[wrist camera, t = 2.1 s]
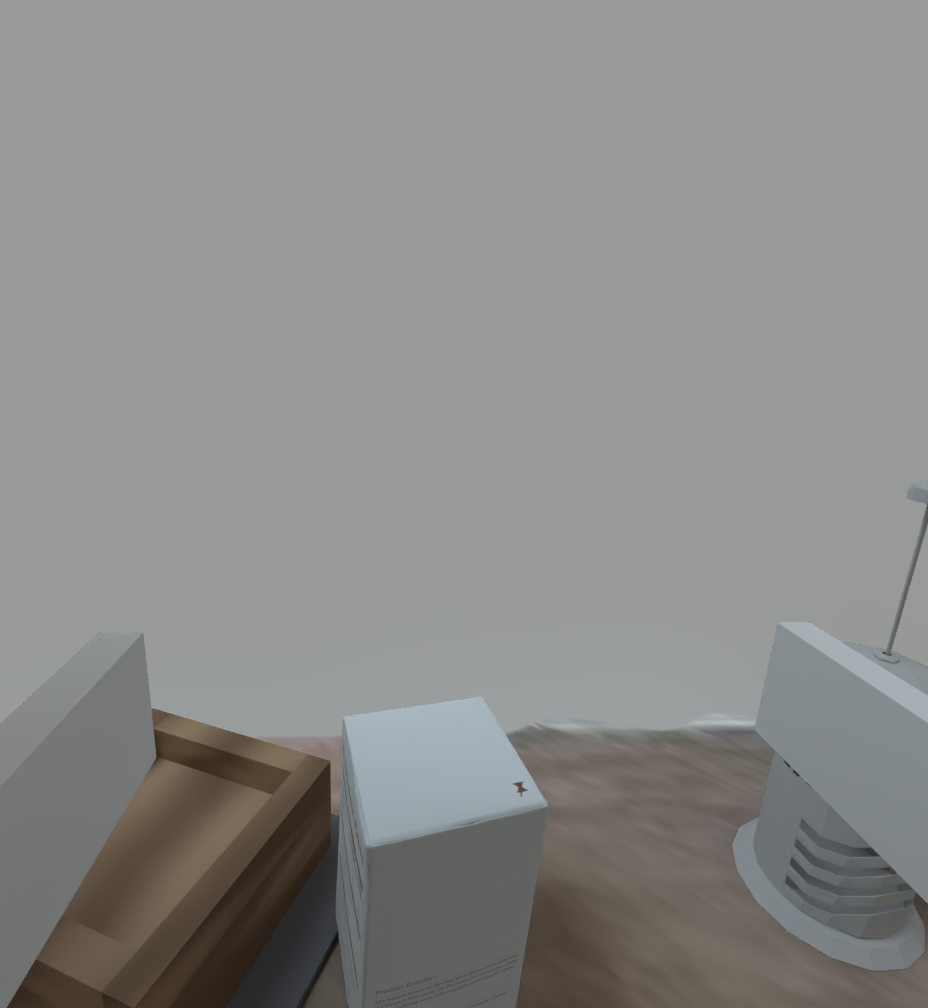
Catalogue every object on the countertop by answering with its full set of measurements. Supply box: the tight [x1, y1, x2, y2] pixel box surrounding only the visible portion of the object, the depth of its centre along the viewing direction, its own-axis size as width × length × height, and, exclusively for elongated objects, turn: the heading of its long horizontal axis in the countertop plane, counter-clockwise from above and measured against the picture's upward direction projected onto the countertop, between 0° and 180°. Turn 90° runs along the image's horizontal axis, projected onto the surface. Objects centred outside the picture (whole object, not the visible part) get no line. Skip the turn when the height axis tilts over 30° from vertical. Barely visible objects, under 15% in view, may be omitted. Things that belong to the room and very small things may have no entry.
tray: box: [7, 709, 331, 1008], centre depth 27 cm, size 13×13×6 cm
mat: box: [225, 814, 340, 1008], centre depth 28 cm, size 19×17×1 cm
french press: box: [732, 479, 928, 971], centre depth 29 cm, size 10×12×25 cm
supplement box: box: [336, 697, 549, 1008], centre depth 25 cm, size 7×7×13 cm
